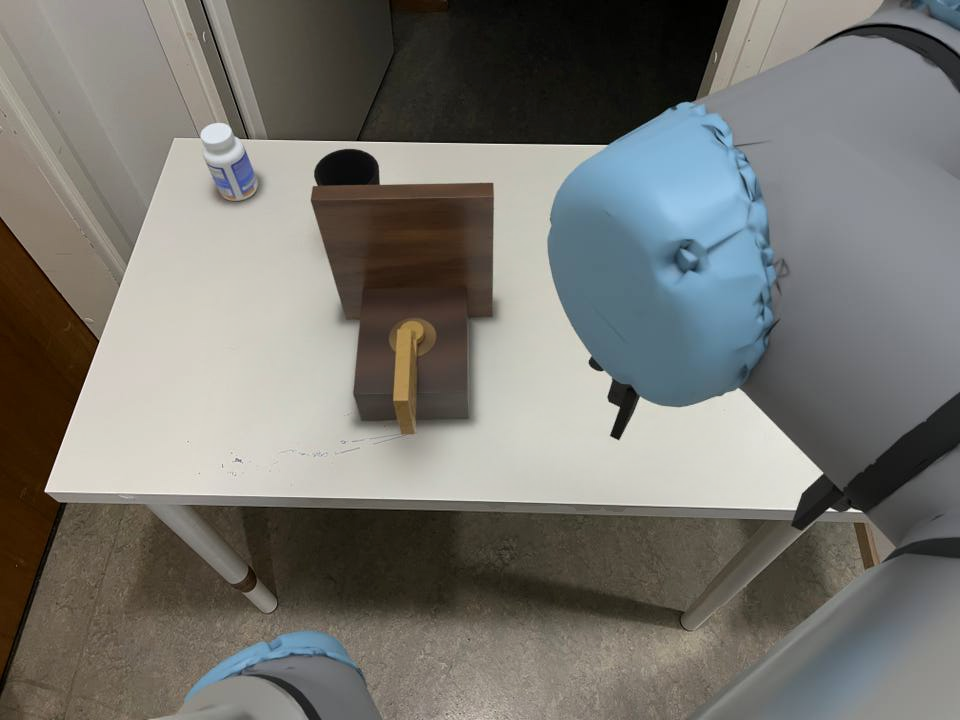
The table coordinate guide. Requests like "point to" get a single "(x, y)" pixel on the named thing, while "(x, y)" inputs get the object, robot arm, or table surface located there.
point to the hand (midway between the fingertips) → (708, 466)
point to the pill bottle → (228, 162)
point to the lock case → (410, 283)
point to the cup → (347, 169)
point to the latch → (406, 375)
